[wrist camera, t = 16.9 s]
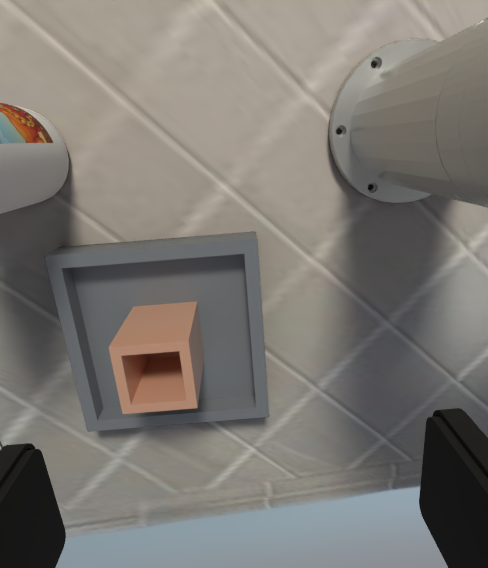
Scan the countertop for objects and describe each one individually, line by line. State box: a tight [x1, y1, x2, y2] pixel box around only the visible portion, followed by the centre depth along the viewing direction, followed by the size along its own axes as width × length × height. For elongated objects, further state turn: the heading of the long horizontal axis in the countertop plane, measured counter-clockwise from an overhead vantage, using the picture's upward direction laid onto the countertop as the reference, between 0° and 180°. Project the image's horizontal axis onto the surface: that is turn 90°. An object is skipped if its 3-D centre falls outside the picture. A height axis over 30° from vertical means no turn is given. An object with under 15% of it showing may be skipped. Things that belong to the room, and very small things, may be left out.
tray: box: [44, 232, 269, 432], centre depth 38 cm, size 18×18×3 cm
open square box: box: [109, 301, 204, 414], centre depth 35 cm, size 6×6×8 cm
